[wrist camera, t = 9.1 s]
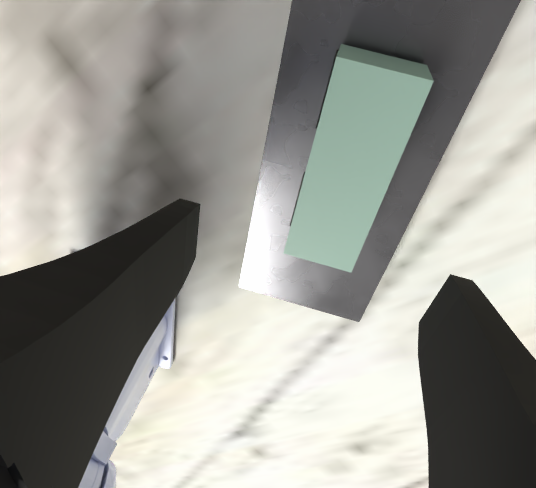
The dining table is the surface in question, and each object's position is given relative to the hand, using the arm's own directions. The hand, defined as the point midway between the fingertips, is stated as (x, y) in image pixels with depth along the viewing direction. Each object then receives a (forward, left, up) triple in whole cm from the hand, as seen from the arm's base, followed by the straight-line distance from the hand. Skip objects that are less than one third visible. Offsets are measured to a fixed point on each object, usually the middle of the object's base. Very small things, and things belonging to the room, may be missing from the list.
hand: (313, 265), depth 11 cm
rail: (0, -1, -9) cm, 9 cm away
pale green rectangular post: (+1, -1, -9) cm, 9 cm away
